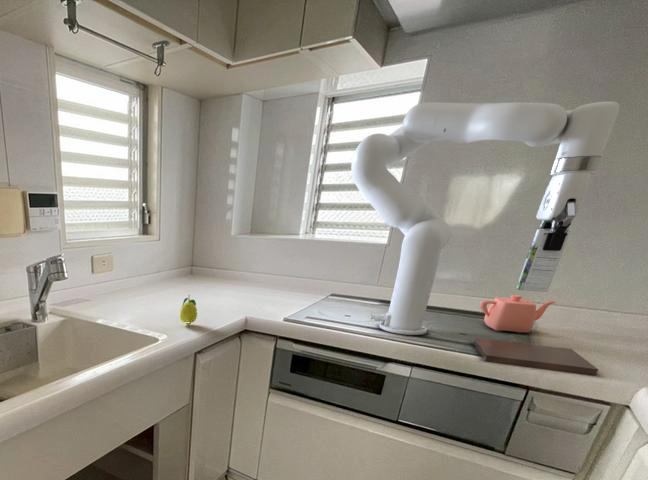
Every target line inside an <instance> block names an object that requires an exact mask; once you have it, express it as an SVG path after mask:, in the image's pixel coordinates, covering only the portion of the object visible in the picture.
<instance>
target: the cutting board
mask: <svg viewBox="0 0 648 480" xmlns="http://www.w3.org/2000/svg"><path fill="white" fill-rule="evenodd" d="M473 345H474V347H475V348H476V350H477V351H478V352H479V354H480V355H481V357H482V359H483V360H484V362H492V363H498V364H504V365H505V364H506V365H513V366H521V367H528V368H535V369H546V370H551V371H560V372H566V373H574V374H580V375H581V374H582V375H588V376H589V375H590V376H596V375H597V373H598V371H599V368H598V367H596V366H595V365H593V364H592V363H590V361H588V360H587V359H585V358H584V357H583V356H582V355H580V354H579V353H577V352H576V350H574V349H572V348H566V347H560V346H559V347H558V346H551V345H541V344H532V343H524V342H515V341H504V340H496V339H489V338H488V339H486V338H479V337H475V338H474V339H473Z"/></svg>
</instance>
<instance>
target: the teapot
mask: <svg viewBox="0 0 648 480" xmlns="http://www.w3.org/2000/svg"><path fill="white" fill-rule="evenodd" d="M557 302H558V300H557V301H556V300H548V301H545V302H543V303H542V304H541V305H540V306H539V308H537V304H536V303H534V301H531V300H528V299H525V298H523V296H522V295H519V294H512V295H510V297H503V296H502V297H501V296H496V297H494V299H493V300H489V299H488V300H481V301H480V303H479V306H480V309H481V311H482V312H483V313H484V320H483V321H484V324H485V326H487V327H489V328H491V329H493V330H494V331H496V332H502V331H505V332H513V333H520V334H521V333H529V332H530V331H531V330H532V329H533V326H534V324H535V322H536V321H538V320H539V319H540V318H542V316H543V315H544V313H545V311H546V310H547V308H548V307H549V306H551V305H553V304H555V303H557ZM487 305H489V306H488V307H487Z"/></svg>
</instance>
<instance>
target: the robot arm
mask: <svg viewBox="0 0 648 480" xmlns="http://www.w3.org/2000/svg"><path fill="white" fill-rule="evenodd" d="M619 111H620V104H619V103H618V102H617V101H611V100H610V101H609V100H608V101H607V100H606V101H596V102H591V103H586V104H582V105H579V106H577V107H575V108H574V109H565V107H563V106H562V105H560V104H557V103H550V102H524V101H523V102H521V101H520V102H519V101H517V102H516V101H515V102H512V101H511V102H508V101H507V102H484V103H483V102H481V103H480V102H477V103H476V102H440V101H439V102H436V101H431V102H430V101H427V102H426V101H425V102H420V103H417V104H415V105H414V106H412V107H411V108H410V109H409V110H408V111H407V112H406V114H405V115H404V118H403V121H402V126H400V127H399V128H397V129H395V130H394V131H392V132H391V133H390V134H388V135H387V134H385V133H372V134H370V135H368V136H366V137H365V138H363V139H362V140H361V141H360V142H359V144H358V145H357V147H356V149H355V151H354V153H353V155H352V159H351V168H350V169H351V170H350V171H351V177H352V180H353V182H354V184H355V186H356V188H357V189H358V190H359V192H360V193H361V194H362V196H363V197H364V198H365V200H367V201H368V203H369V204H370V205H371V207H372V208H373V209H374V210H375V211H376V213H377V214H378V215H379V216H380V217H381V219H382V220H383V221H384V222H385V224H387V225H388V226H389V227H391V228H398V229H399V230H400V231H401V233H402V234H403V235H404V237H403V239H402V243H401V249H400V257H399V262H398V268H397V271H396V272H397V273H396V276H395V277H396V278H395V282H394V285H393V290H392V295H391V299H390V304H389V308H388V311H386V313H382V314H380V313H379V314H378V313H373V312H372V313H370V318H369V319H370V320H373V321H375V322H380V323H379V328H380V329H381V330H383V331H386V332H388V333H393V334H398V335H404V336H405V335H407V336H421V335H425V334H427V331H428V328H427V327H426V326H424V325H423V322H424V319H425V315H426V311H427V309H428V304H429V300H430V296H431V293H432V290H433V285H434V282H435V277H436V274H437V271H438V265H439V260H440V256H441V253H442V250H443V249H445V247H447V245H448V243H449V242H450V239H451V235H452V234H451V229H450V226H449V225H448V224H447V222H446V221H445V220H444V219H443V218H442V216H441V215H439V213H438V212H437V211H436V210H435V209H434V208H433V207H432V206H431V205H430V204H429V202H427V201H426V199H424V198H423V197H422V196H421V195H419V194H417V193H413V192H410V191H408V190H407V189H406V188H405V186H403V185H402V184H401V182H400V181H399V180H398V179H397V177H395V175H393V174H392V172H390V170H389V169H388V168H390V167H392V166H394V165H396V164H398V163H399V162H400V161H402V160H404V159H405V158H407V157H408V156H410V155H412V154H413V153H415V152H416V151H418V150H419V149H421V148H423V147H424V146H425V145H427V144H428V143H430V142H445V143H458V144H471V143H475V142H480V141H505V142H506V141H507V142H522V143H524V144H526V146H528V147H533V148H540V147H546V146H551V145H557V144H559V146H558V149H557V153H556V156H555V159H554V162H553V164H552V168H551V171H550V174H549V176H552V177H551V179H550V180H549V183H548V185H547V187H546V189H545V192H544V194H543V196H542V199H541V202H540V205H539V208H538V210H537V212H536V215H535V218H536V219H537V220H538V221H539V220H540V224H539V226H538V229H551V233H548V235H547V238H546V240H545V243H544V246H543V250H545V251H560V250H561V248H562V246H563V243H564V240H565V237H566V235H567V232H568V231H570V226H571V225H572V222H573V220H574V219H576V218H577V216H578V214H579V212H580V210H581V207H582V206H583V205H582V204H583V202H584V199H585V196H586V193H587V190H588V186H589V182H590V179H591V175H592V174H596V173H597V170H598V168H599V165H600V163H601V160H602V157H603V155H604V152H605V149H606V146H607V144H608V140H609V138H610V135H611V133H612V130H613V128H614V125H615V122H616V119H617V117H618V114H619Z"/></svg>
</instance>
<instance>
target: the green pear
mask: <svg viewBox="0 0 648 480" xmlns="http://www.w3.org/2000/svg"><path fill="white" fill-rule="evenodd" d="M190 296H191V295H190V294H188V297H186V298H184V300H183V303H182V306H181V308H180V311H179V318H180V319H179V320H181V322H182V321H183V322H182V323H184V322H192V323H194V322H195V321H196V320H197V317H198V309H197V306H196V305H197V303H196V300H195V299H190V298H189V297H190ZM186 301H187V302H186ZM192 323H185V324H186V325H187V326H190V325H191V324H192Z"/></svg>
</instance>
